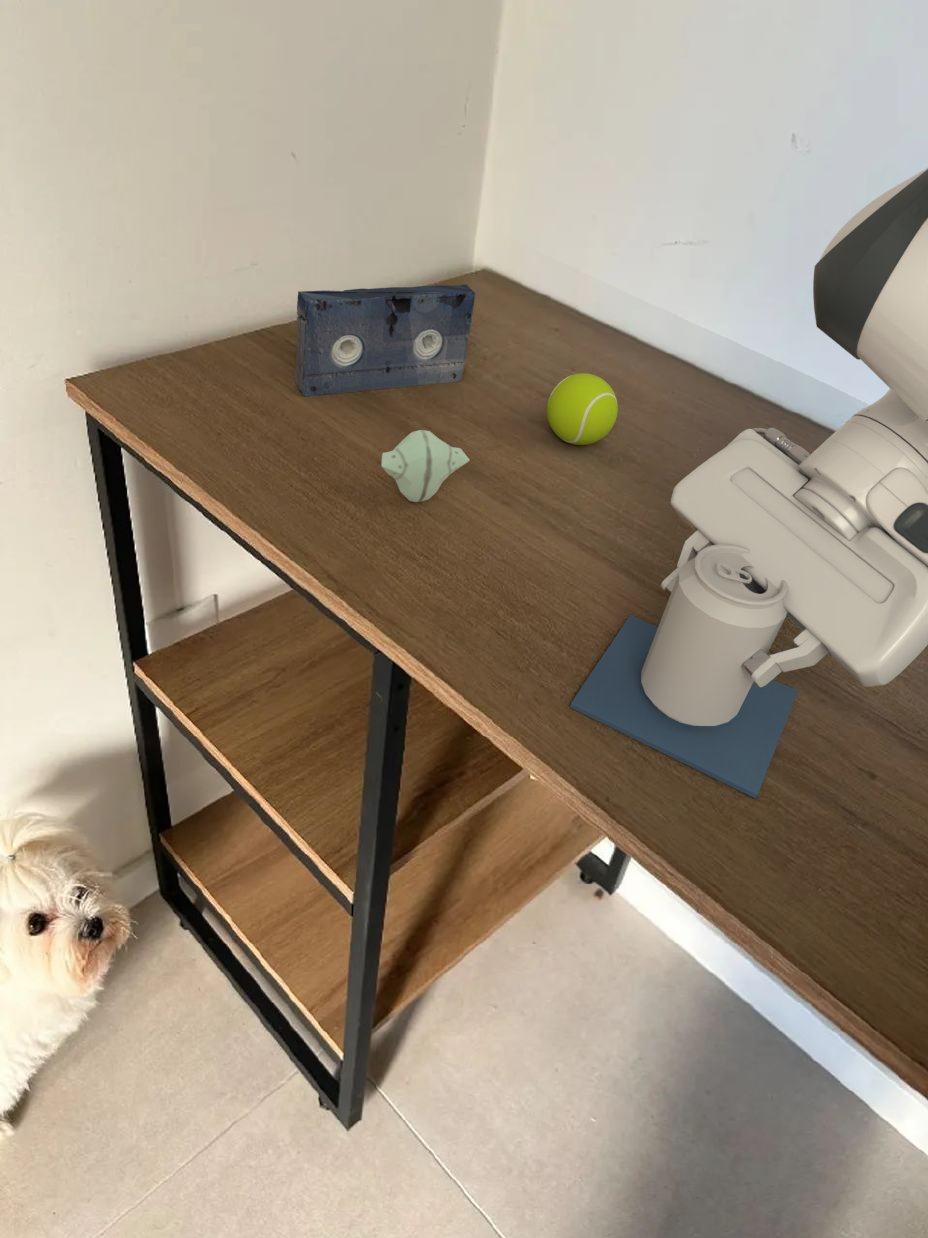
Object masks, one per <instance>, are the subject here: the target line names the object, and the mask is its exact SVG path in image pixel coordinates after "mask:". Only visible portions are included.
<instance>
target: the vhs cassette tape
mask: <svg viewBox="0 0 928 1238" xmlns="http://www.w3.org/2000/svg"><path fill="white" fill-rule="evenodd" d="M476 295H477V294H476V292H475V291H474V290H473V289H472V288H471V287H470V286H469V285H468V284H459V285H457V284H456V285H455V284H454V285H452V284H451V285H450V284H449V285H448V284H443V285H441V284H440V285H420V286H397V287H396V286H395V287H393V286H389V287H376V288H375V287H373V288H355V289H354V288H353V289H343V290H306V291H305V290H304V291H303V290H301V291H300V290H298V291H297V300H296V301H297V302H296V303H297V304H296V311H297V312H296V315H297V317H296V329H295V330H296V337H295V338H296V339H295V341H296V343H295V344H296V345H295V346H296V347H295V369H294V383H295V385H296V387H297V388H298V390H299V391H300V393H301V394H302V396H303V397H315V396H322V395H333V394H335V395H336V394H345V393H354V392H357V393H358V392H366V391H376V390H377V391H378V390H382V389H383V390H384V389H397V388H408V387H418V386H428V385H429V386H430V385H436V384H437V385H438V384H449V383H458V382H461V381H462V380H463V378H464V373H465V362H466V359H467V351H468V345H469V339H470V332H471V324H472V322H473V313H474V307H475V299H476Z"/></svg>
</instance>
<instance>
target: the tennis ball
mask: <svg viewBox="0 0 928 1238" xmlns="http://www.w3.org/2000/svg"><path fill="white" fill-rule="evenodd" d="M618 404H619V403H618V399H617V396H616V393H615V391H614V390H613V388H612V386H610V384H609V383H608V382H606V380H604V379H603V378H601V377H599V376H597V375H595V374H592V373H587V372H586V373H585V372H579V373H574V374H571V375H568V376H567V377H564V378H563V379H562V380H560V381H559V382H558V383H557V384H556V385H555V386H554V387H553V389H552V391H551V392H550V395H549V396H548V400H547V404H546V416H547V417H546V418H547V421H548V424H549V427H550V428H551V430H552V432H553V433H554V434H555V435H556V436H557V437H558V438H559V439H560V440H562V441H564V442H565V443H568V444H571V445H575V446H587V445H592V444H594V443H597V442H599V441H600V440H602V439H604V438H605V437H606V436H608V434H609V433H610V431H611V430H612V429H613V427H614V425H615V423H616V420H617V417H618V412H619V407H618Z"/></svg>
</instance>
